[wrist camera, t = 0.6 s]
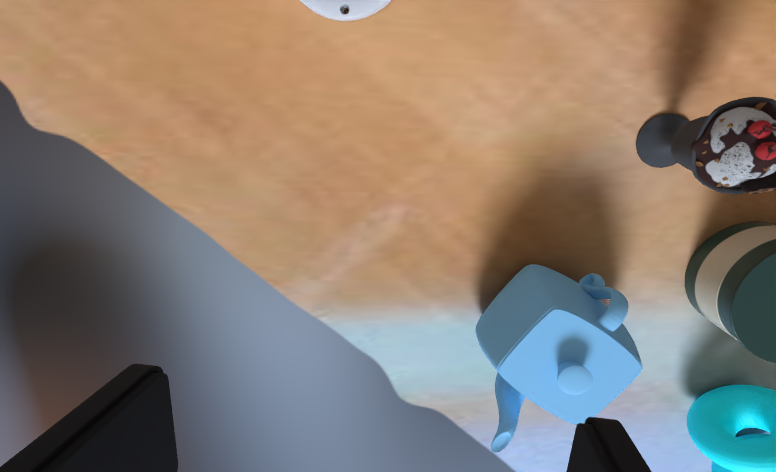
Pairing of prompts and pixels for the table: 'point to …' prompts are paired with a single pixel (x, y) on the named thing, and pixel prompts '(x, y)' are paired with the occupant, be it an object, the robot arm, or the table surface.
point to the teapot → (556, 347)
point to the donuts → (735, 428)
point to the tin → (738, 284)
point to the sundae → (718, 145)
